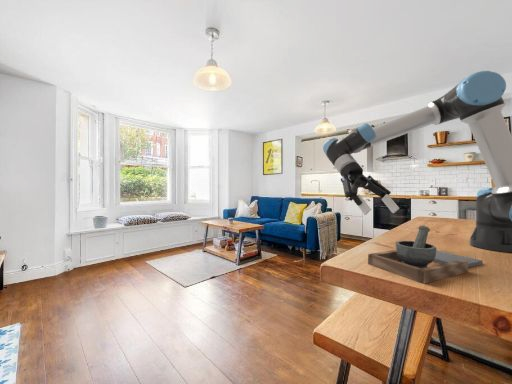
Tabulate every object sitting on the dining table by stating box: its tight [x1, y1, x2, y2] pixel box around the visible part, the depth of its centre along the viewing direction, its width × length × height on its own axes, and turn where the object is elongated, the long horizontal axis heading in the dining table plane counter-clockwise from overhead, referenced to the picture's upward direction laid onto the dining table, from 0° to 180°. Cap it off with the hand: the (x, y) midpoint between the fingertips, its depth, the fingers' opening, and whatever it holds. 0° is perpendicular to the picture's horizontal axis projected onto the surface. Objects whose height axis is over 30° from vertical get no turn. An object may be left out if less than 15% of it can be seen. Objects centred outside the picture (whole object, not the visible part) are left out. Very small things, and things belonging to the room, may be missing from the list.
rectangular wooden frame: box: [367, 249, 469, 285], centre depth 70 cm, size 20×16×3 cm
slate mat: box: [432, 249, 483, 268], centre depth 78 cm, size 12×14×1 cm
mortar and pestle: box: [395, 225, 437, 269], centre depth 69 cm, size 11×9×12 cm
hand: (382, 211), depth 79 cm, fingers open, 13 cm apart
